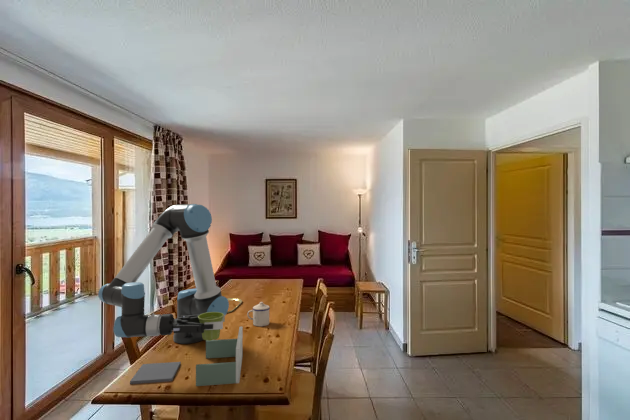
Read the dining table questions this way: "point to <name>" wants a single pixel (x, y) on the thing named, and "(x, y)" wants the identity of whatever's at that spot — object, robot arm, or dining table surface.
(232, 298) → the brass wire loop
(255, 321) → the teacup with lid
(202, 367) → the grey-green angled panels
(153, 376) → the slate mat
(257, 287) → the dining table surface
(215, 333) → the plant pot
